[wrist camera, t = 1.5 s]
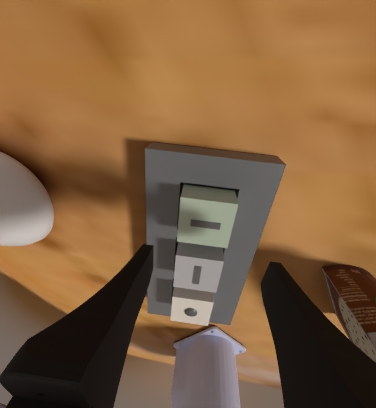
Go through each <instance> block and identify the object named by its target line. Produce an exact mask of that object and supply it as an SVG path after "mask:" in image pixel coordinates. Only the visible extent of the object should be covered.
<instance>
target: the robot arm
mask: <svg viewBox="0 0 376 408" xmlns="http://www.w3.org/2000/svg"><path fill="white" fill-rule="evenodd" d="M153 253H154V245H146V244H143V245H142V246H141V248H140V249H139V250H138V251H137V253H136V254H135V255H134V256H133V257H132V259H131V260H130V261H129V262H128V263H127V264H126V265H125V266H124V267H123V268H122V270H121V271H120V272H119V273H118V274H117V275H116V276H115V277H114V278H113V279H111V280H110V281H109V282H108V283H107V284H106V285H105V286H104V287H103V288H102V289H100V290H99V291H98V292H97V293H96V294H95V295H93V296H92V297H91V298H89V299H88V300H87V301H86V302H84V303H83V304H82V305H80V306H79V307H78V308H76V309H75V310H73V311H72V312H70V313H69V314H68V315H66V316H65V317H63V318H62V319H60V320H59V321H57V322H56V323H54V324H52V325H51V326H49V327H48V328H46V329H44V330H43V331H41V332H40V333H38V334H36V335H34V336H33V337H31V338H29V339H28V340H27V341H26V342H25V343H24V345H23V346H22V347H21V348H20V349H19V351H18V352H17V353H16V354H15V356H14V357H13V359H12V360H11V362H10V363H9V364H8V365H7V367H6V368H5V370H4V371H3V372H2V374H1V375H0V383H1V384H2V386H3V387H4V388H5V389H6V390H7V391H8V392H10V394H11V395H12V396H13V397H12V398H11V400H10V402H9V403H8V405H7V406H6V405H4V404H2V403H0V408H113V406H114V402H115V398H116V394H117V390H118V385H119V382H120V378H121V374H122V370H123V366H124V362H125V358H126V354H127V350H128V347H129V343H130V339H131V336H132V332H133V328H134V325H135V322H136V319H137V316H138V314H139V311H140V308H141V306H142V303H143V300H144V297H145V295H146V292H147V289H148V286H149V284H150V280H151V276H152V272H153ZM261 291H262V298H263V303H264V307H265V310H266V314H267V318H268V322H269V325H270V329H271V333H272V336H273V340H274V345H275V349H276V355H277V360H278V366H279V373H280V379H281V386H282V392H283V400H284V408H376V362H375V361H373V360H372V359H371V358H370V357H369V356H367V355H366V354H365V353H364V352H363V351H362V350H360V349H359V348H358V347H357V346H356V345H355V344H354V343H353V342H351V341H350V340H349V339H348V338H347V337H346V336H345V335H344V334H343V333H342V332H341V331H340V330H339V329H338V328H337V327H336V326H335V325H334V324H332V323H331V322H330V321H329V320H328V319H327V317H326V316H325V315H324V314H323V313H322V312H321V311H320V310H319V309H318V308H317V307H316V306H315V305H314V303H313V302H312V301H311V300H310V299H309V298H308V297H307V295H306V294H305V293H304V292H303V291H302V289H301V288H300V287H299V286H298V285H297V283H296V282H295V281H294V280H293V278H292V277H291V276H290V275H289V273H288V272H287V271H286V269H285V268H284V267H283V266H282V265H281V263H276V262H270V263H269V266H268V268H267V270H266V272H265V275H264V277H263V279H262V281H261ZM173 347H174V348H176V349H177V351H176V358H175V366H174V375H173V382H172V391H171V399H172V406H173V408H240V399H239V388H238V378H237V368H236V357H235V355H237V354H240V353H243V352H245V351H246V348H245V347H244V346H242V345H241V344H240V343H238V342H237V341H235V340H234V339H233V338H231V337H230V336H228V335H227V334H226V333H224V332H223V331H221V330H220V329H219V328H217V327H215V326H213V327H210V328H208V329H206V330H203V331H201V332H199V333H197V334H194V335H192V336H190V337H187V338H185V339H183V340H181V341H178V342H176V343H174V344H173Z"/></svg>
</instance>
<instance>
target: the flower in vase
mask: <svg viewBox="0 0 376 408" xmlns="http://www.w3.org/2000/svg"><path fill="white" fill-rule="evenodd" d="M53 220H54V209H53V204H52V202H51V199H50V197H49V194H48V192H47V191H46V189H45V188H44V186H43V185H42V183H41V182H40V181H39V179H38V178H37V177H36V176H35V175H34V174H33V173H32V172H31V171H30V170H29V169H28V168H26V167H25V166H24V165H23V164H21V163H20V162H18V161H17V160H15V159H14V158H12V157H10V156H8V155H7V154H5V153H2V152H0V245H3V246H23V245H29V244H32V243H35V242H37V241H40V240H42V239H43V238H45V237H46V236H47V235H48V234H49V233H50V231H51V229H52V226H53Z"/></svg>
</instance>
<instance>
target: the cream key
mask: <svg viewBox="0 0 376 408" xmlns="http://www.w3.org/2000/svg"><path fill="white" fill-rule="evenodd" d="M213 304H214V292H207V291H200V290H193V289H185V288H178V287H174V291H173V296H172V308H171V320H172V321H178V322H185V323H192V324H199V325H205V326H208V323H209V320H210V316H211V312H212V308H213Z"/></svg>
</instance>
